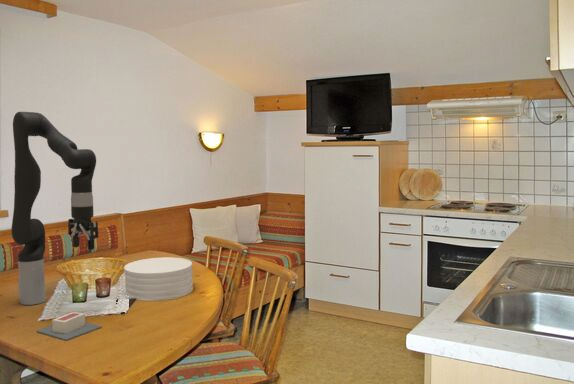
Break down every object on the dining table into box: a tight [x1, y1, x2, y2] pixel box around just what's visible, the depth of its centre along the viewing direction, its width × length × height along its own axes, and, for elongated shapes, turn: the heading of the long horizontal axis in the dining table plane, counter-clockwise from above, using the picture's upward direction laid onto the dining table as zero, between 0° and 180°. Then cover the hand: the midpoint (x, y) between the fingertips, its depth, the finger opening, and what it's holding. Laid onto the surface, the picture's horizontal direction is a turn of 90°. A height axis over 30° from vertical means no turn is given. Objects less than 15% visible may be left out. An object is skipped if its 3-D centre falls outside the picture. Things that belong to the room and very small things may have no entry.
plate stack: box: [123, 256, 194, 302], centre depth 228 cm, size 28×28×12 cm
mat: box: [35, 321, 103, 342], centre depth 183 cm, size 16×14×1 cm
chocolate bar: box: [108, 298, 137, 315], centre depth 208 cm, size 9×1×18 cm
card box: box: [51, 311, 86, 334], centre depth 183 cm, size 9×6×4 cm, turn 156°
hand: (83, 248), depth 197 cm, fingers open, 8 cm apart
